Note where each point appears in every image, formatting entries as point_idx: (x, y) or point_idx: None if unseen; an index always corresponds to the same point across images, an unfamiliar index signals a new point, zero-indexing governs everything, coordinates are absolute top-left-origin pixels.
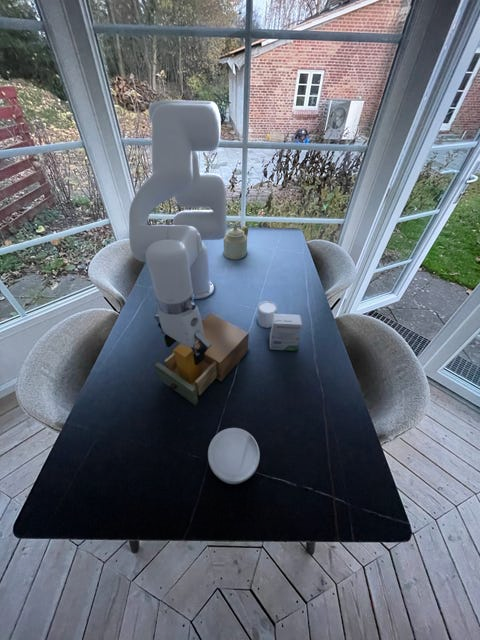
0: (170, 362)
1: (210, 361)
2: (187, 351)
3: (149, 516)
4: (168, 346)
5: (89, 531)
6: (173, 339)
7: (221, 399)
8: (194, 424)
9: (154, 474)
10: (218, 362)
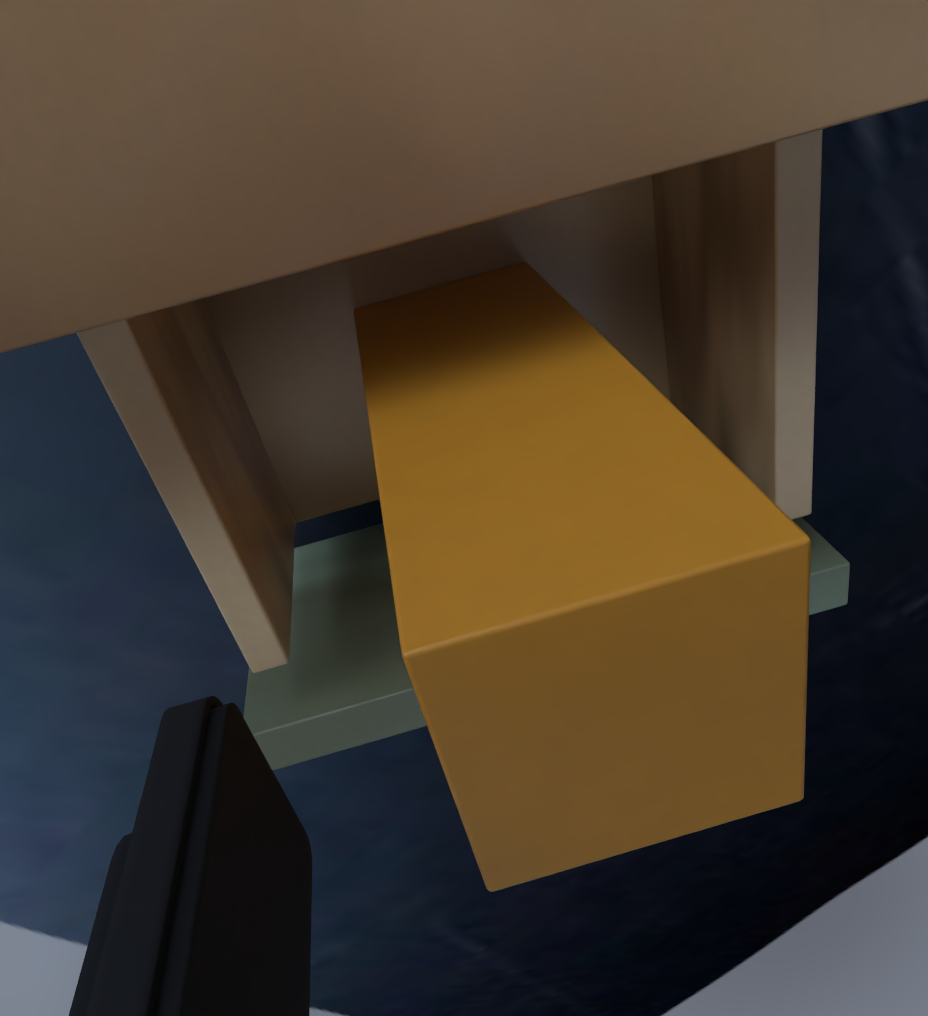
0: (272, 573)
1: None
2: (739, 734)
3: (896, 820)
4: (308, 877)
5: (747, 955)
6: (249, 855)
7: (834, 225)
8: None
9: None
10: (917, 100)
